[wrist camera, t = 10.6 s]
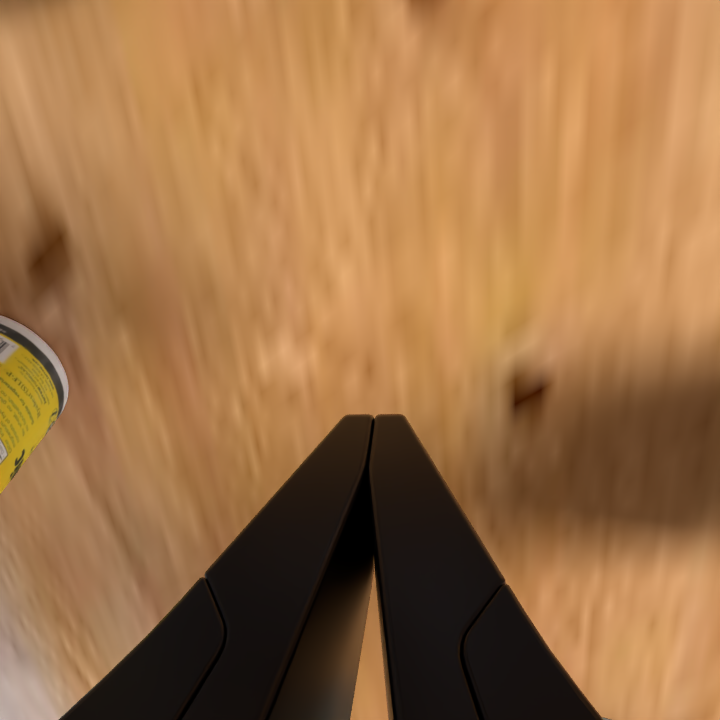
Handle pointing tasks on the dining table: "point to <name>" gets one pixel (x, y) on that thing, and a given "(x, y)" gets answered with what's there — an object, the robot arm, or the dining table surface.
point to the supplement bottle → (26, 394)
